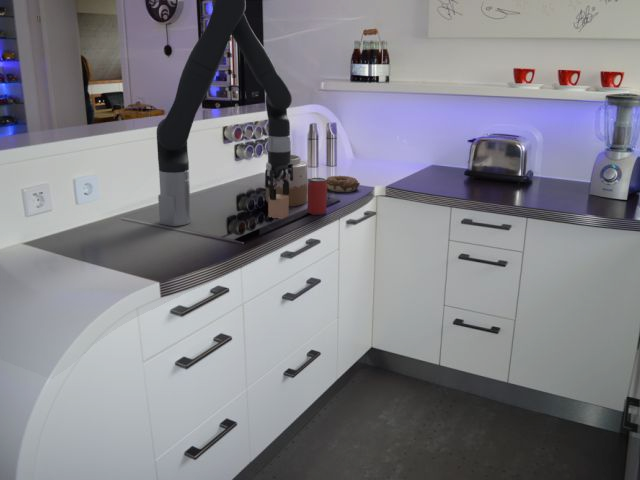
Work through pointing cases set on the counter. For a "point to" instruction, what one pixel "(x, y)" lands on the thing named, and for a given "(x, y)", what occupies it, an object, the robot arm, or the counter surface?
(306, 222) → the counter surface
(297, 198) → the vase
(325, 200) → the beer can
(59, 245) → the counter surface
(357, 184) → the donut
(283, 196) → the block
